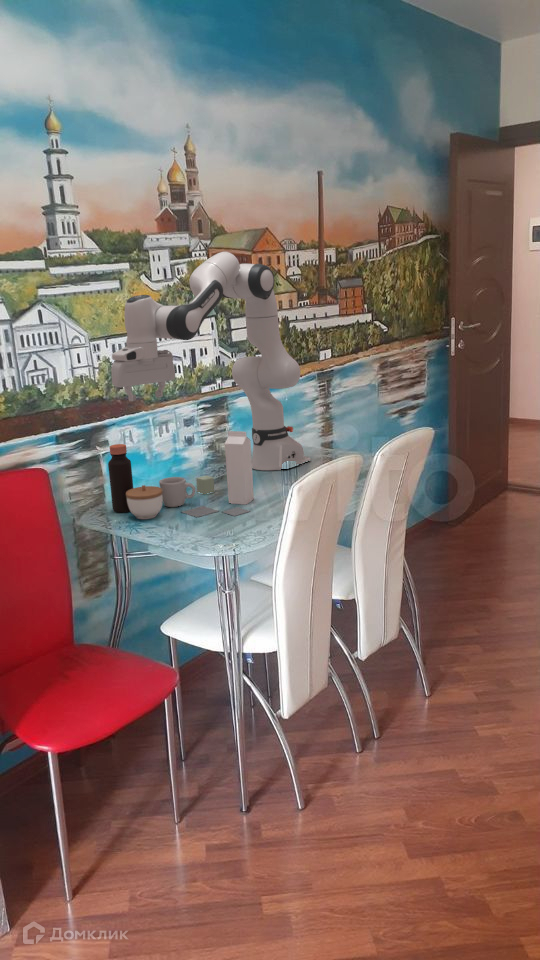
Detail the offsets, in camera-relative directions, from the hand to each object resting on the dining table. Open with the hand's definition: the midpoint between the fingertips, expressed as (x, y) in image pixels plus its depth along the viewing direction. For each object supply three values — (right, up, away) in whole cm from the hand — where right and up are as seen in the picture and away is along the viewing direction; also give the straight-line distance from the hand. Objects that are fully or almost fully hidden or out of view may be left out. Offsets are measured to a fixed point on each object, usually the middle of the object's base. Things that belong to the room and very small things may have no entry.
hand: (145, 399), depth 247 cm
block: (+16, -28, +21) cm, 39 cm away
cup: (+9, -32, +9) cm, 34 cm away
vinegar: (-8, -33, +7) cm, 35 cm away
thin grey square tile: (+16, -34, +1) cm, 37 cm away
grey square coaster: (+27, -33, -1) cm, 43 cm away
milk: (+28, -31, +9) cm, 43 cm away
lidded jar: (0, -35, -1) cm, 35 cm away
